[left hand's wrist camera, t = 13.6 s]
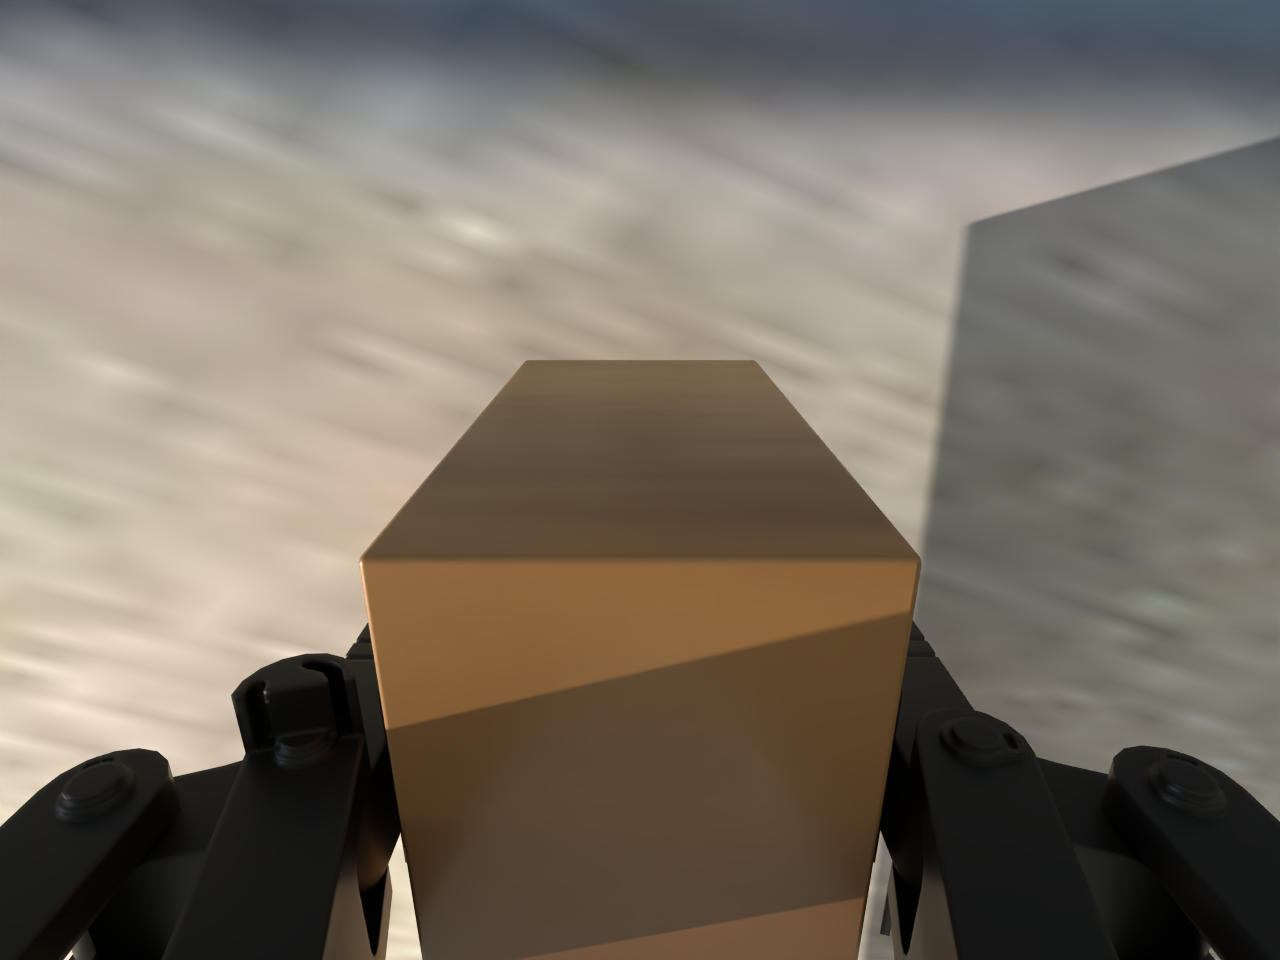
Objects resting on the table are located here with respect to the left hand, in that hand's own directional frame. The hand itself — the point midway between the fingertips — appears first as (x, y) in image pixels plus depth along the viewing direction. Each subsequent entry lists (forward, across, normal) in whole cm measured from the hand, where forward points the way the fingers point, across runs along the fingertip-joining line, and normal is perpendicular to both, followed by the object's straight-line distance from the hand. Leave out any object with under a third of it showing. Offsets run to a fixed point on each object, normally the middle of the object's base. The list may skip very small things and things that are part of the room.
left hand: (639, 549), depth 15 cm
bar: (+1, 0, -14) cm, 14 cm away
